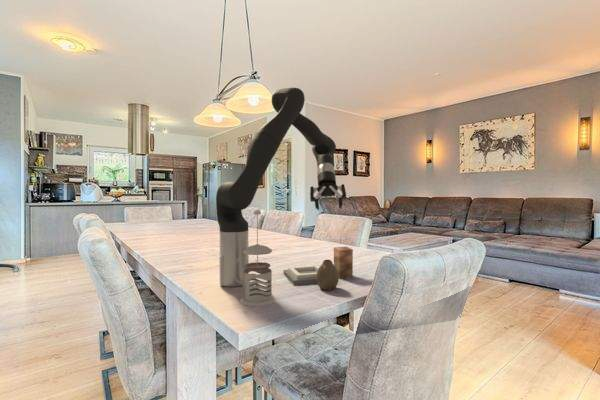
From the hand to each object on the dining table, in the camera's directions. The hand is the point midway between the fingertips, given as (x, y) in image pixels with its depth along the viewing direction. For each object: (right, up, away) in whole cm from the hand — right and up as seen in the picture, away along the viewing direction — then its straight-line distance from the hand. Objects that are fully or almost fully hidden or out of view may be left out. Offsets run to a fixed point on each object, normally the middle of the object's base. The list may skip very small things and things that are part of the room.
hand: (329, 208), depth 121 cm
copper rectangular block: (+4, -24, -11) cm, 27 cm away
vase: (-3, -25, -24) cm, 35 cm away
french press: (-24, -25, -35) cm, 49 cm away
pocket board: (-9, -24, -13) cm, 28 cm away
